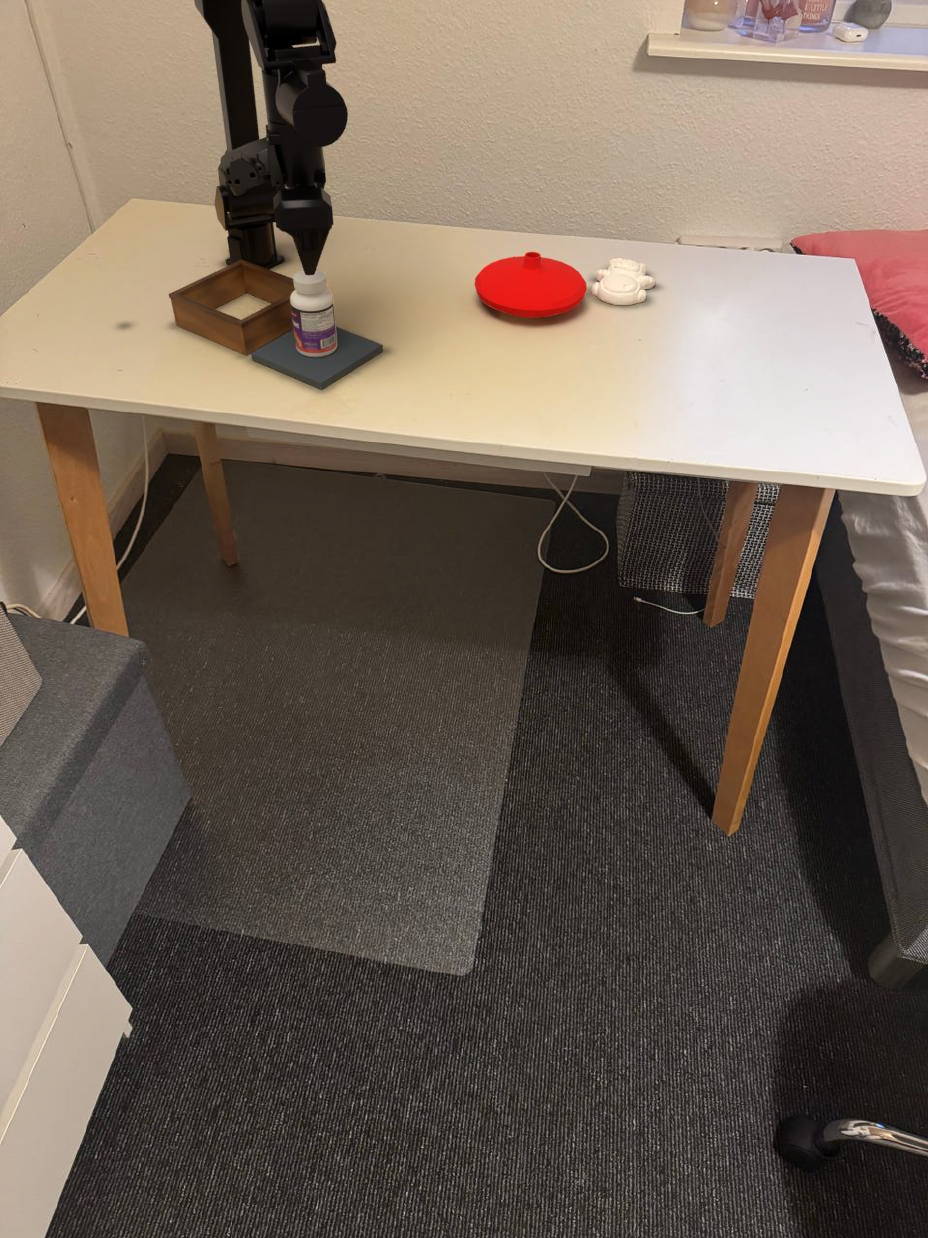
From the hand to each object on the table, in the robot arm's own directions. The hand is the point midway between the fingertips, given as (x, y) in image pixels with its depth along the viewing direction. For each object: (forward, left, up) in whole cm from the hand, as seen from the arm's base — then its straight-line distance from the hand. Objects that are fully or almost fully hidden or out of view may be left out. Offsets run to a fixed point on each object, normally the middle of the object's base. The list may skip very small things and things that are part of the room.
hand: (307, 257), depth 113 cm
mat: (0, 0, -13) cm, 13 cm away
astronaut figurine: (-42, +22, -13) cm, 49 cm away
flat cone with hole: (-29, +14, -13) cm, 35 cm away
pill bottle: (0, 0, -12) cm, 12 cm away
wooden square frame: (-1, -14, -13) cm, 19 cm away
